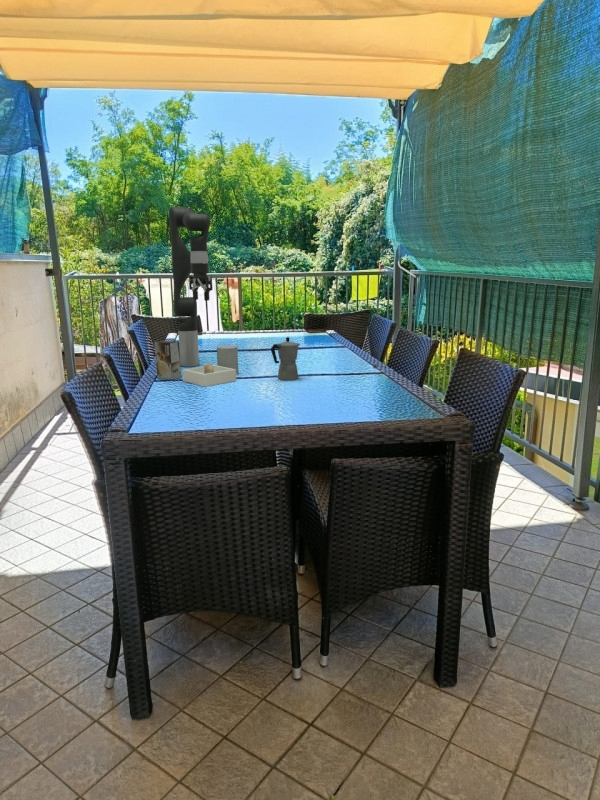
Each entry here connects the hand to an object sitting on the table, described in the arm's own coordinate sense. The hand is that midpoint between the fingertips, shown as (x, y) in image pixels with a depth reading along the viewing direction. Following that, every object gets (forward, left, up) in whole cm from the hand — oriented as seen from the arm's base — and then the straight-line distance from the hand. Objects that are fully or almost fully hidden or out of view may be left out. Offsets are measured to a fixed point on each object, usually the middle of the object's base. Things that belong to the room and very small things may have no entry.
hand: (201, 300), depth 243 cm
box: (+15, -8, -33) cm, 37 cm away
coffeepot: (+35, +18, -33) cm, 52 cm away
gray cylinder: (+7, +8, -33) cm, 35 cm away
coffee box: (-4, -16, -33) cm, 37 cm away
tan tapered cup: (+15, -8, -32) cm, 36 cm away
